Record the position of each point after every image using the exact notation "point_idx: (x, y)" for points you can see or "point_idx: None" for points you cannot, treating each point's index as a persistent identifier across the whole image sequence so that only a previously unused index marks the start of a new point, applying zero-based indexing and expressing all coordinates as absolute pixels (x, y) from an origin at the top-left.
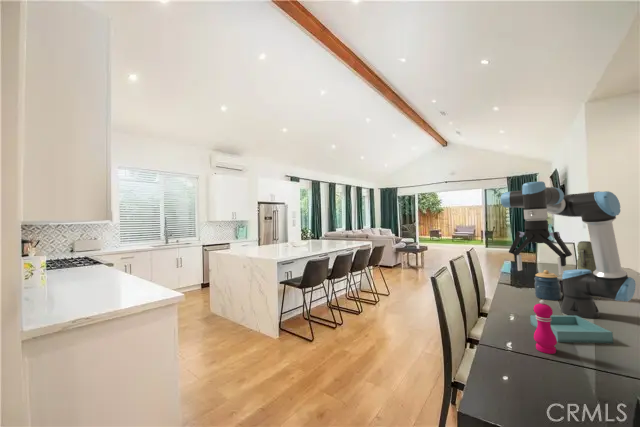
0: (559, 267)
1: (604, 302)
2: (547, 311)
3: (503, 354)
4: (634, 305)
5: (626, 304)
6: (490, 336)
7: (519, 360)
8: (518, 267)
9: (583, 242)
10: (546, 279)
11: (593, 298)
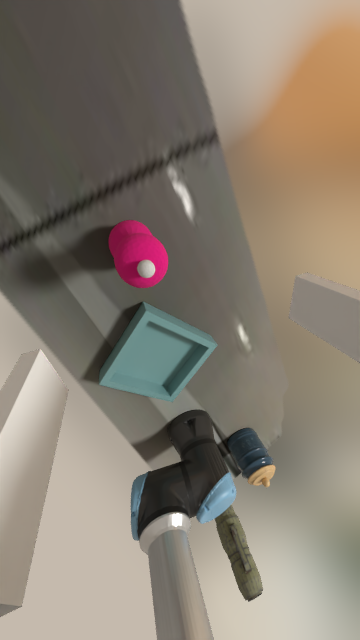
0: (1, 408)
1: None
2: (118, 247)
3: (160, 116)
4: None
5: None
6: (228, 207)
7: (120, 114)
8: (324, 281)
9: (255, 594)
10: (256, 465)
11: None
